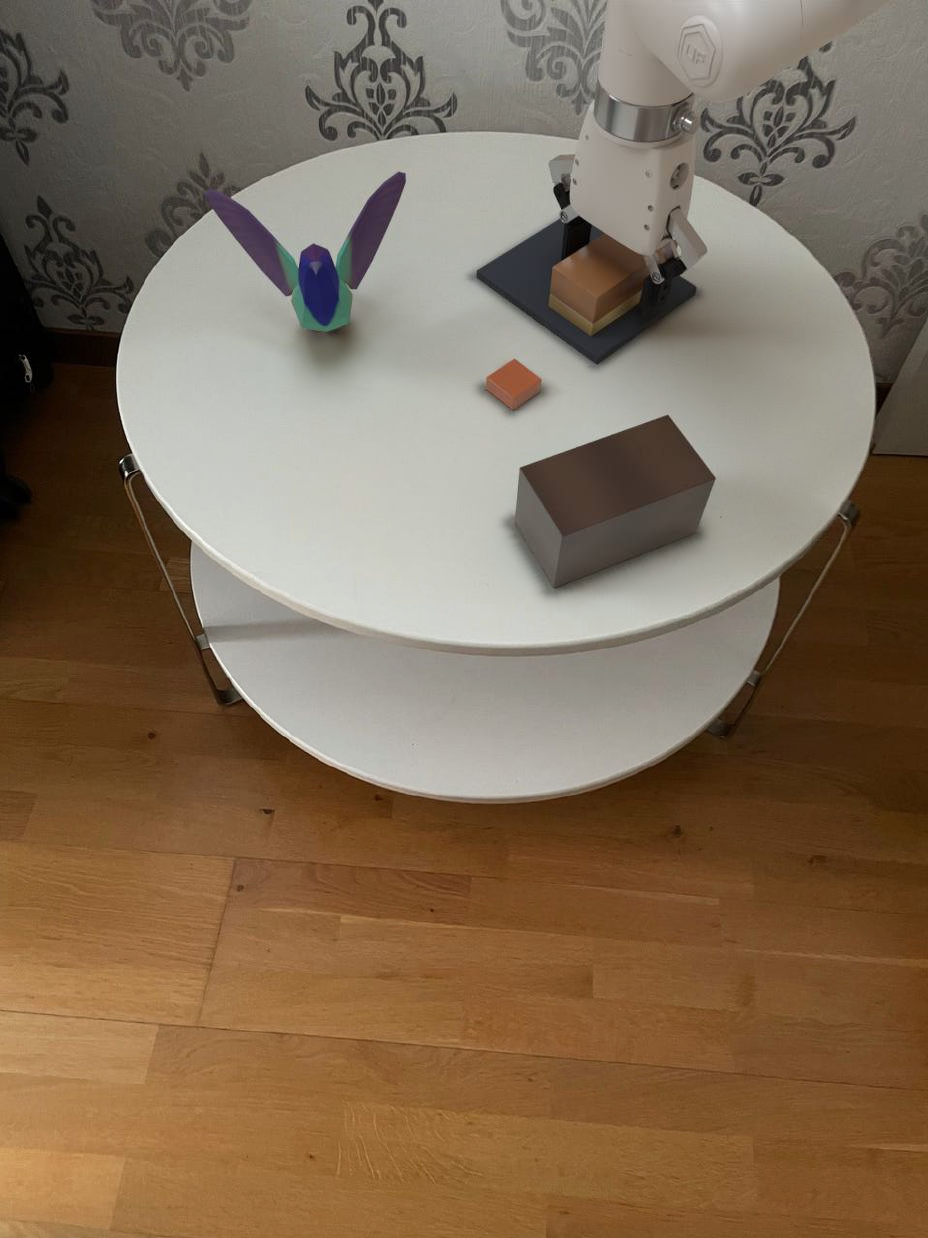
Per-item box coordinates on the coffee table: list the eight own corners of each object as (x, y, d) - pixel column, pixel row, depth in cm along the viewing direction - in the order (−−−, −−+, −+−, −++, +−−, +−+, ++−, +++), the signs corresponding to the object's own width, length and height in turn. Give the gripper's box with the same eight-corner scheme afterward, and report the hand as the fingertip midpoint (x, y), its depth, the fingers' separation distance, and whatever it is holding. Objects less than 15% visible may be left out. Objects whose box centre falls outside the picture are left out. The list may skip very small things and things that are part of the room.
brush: (626, 253, 93) (634, 213, 89) (669, 281, 91) (678, 242, 87) (548, 306, 89) (552, 266, 85) (590, 336, 87) (597, 297, 83)
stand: (652, 471, 80) (668, 413, 74) (696, 533, 77) (716, 477, 71) (514, 522, 77) (519, 467, 71) (553, 588, 74) (562, 536, 68)
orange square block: (540, 391, 85) (542, 378, 83) (512, 410, 83) (513, 398, 82) (513, 370, 86) (514, 357, 85) (485, 389, 85) (486, 377, 83)
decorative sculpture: (239, 425, 82) (199, 285, 69) (231, 281, 92) (195, 134, 79) (434, 403, 84) (430, 261, 71) (407, 264, 93) (399, 117, 80)
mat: (695, 293, 91) (697, 286, 91) (596, 364, 86) (597, 357, 86) (575, 214, 97) (576, 207, 97) (476, 277, 92) (476, 270, 92)
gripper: (760, 131, 72) (709, 309, 87) (594, 40, 79) (572, 220, 93) (697, 173, 69) (655, 349, 84) (530, 74, 76) (518, 254, 91)
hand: (611, 281), depth 89 cm, fingers open, 9 cm apart
